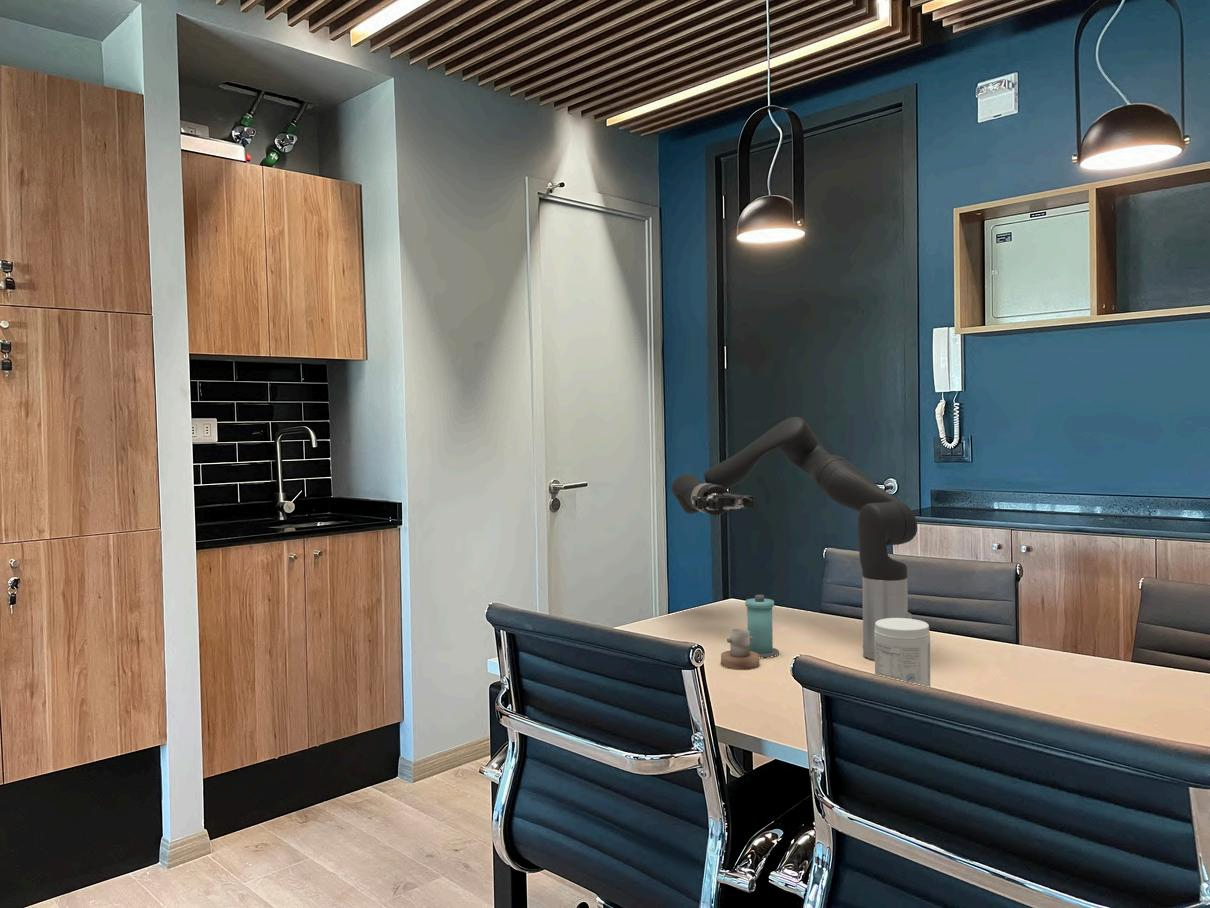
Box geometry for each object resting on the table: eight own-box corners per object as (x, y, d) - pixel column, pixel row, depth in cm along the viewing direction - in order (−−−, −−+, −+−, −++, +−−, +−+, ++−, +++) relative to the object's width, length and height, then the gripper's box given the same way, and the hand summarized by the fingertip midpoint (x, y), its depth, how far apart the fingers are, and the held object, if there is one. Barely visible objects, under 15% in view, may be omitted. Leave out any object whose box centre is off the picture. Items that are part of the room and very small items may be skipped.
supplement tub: (894, 693, 169) (894, 614, 169) (941, 704, 162) (941, 623, 162) (863, 703, 163) (863, 622, 163) (911, 716, 156) (910, 631, 155)
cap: (767, 646, 203) (767, 592, 203) (779, 653, 197) (778, 597, 197) (741, 648, 202) (741, 593, 201) (752, 655, 196) (751, 599, 195)
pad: (770, 647, 204) (770, 645, 204) (785, 656, 196) (784, 653, 196) (736, 650, 202) (736, 647, 202) (750, 659, 195) (750, 656, 194)
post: (750, 658, 196) (750, 625, 195) (765, 667, 188) (765, 634, 188) (715, 660, 194) (715, 628, 194) (729, 670, 186) (728, 637, 186)
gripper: (682, 484, 223) (704, 489, 207) (737, 482, 226) (762, 487, 210) (682, 515, 223) (704, 521, 207) (737, 512, 226) (763, 519, 210)
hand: (734, 504), depth 209 cm, fingers open, 8 cm apart
